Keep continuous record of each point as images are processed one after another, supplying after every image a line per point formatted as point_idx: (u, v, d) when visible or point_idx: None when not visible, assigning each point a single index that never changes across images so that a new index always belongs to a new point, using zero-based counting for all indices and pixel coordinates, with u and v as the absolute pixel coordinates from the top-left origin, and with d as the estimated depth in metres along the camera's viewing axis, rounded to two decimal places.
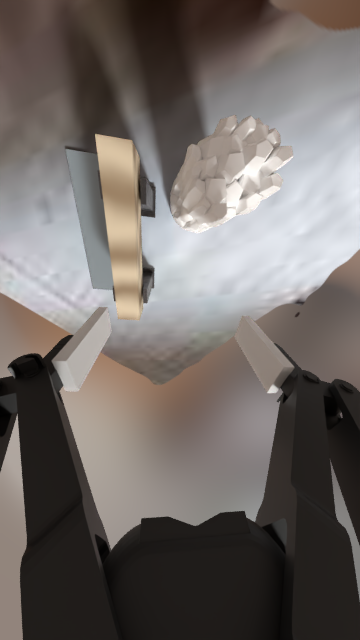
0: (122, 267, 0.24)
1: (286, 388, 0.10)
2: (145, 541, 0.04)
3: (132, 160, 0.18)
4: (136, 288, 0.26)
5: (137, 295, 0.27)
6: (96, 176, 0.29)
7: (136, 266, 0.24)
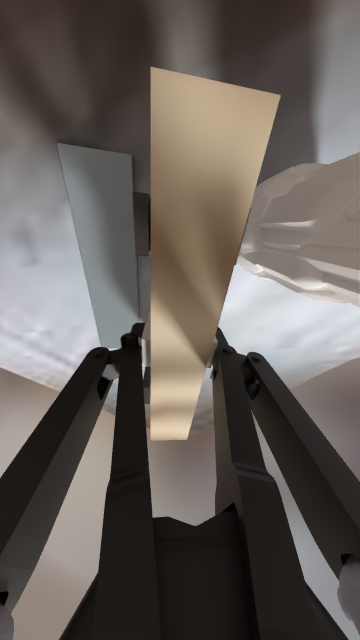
0: (171, 383, 0.12)
1: (214, 365, 0.11)
2: None
3: (258, 167, 0.06)
4: (192, 407, 0.14)
5: (191, 414, 0.14)
6: (112, 191, 0.17)
7: (200, 380, 0.12)
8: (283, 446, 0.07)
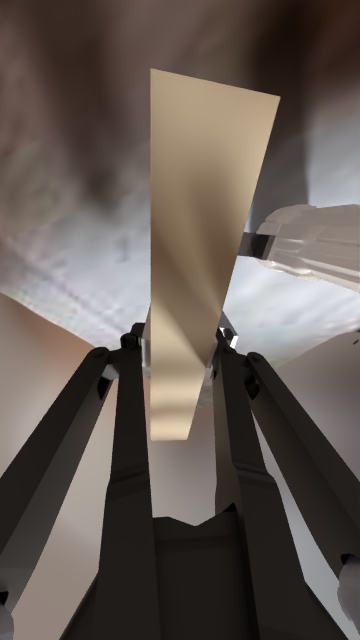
0: (171, 384, 0.12)
1: (214, 365, 0.11)
2: None
3: (257, 168, 0.06)
4: (192, 407, 0.14)
5: (191, 415, 0.14)
6: None
7: (200, 380, 0.12)
8: (283, 446, 0.07)
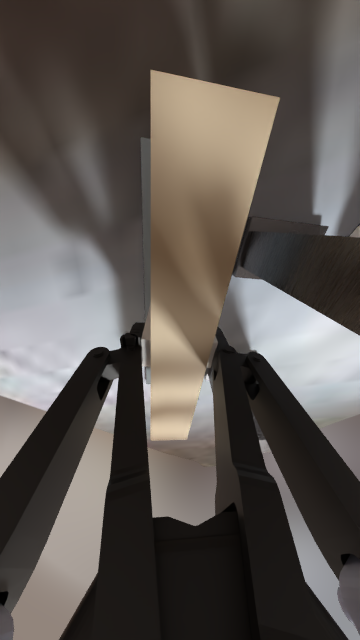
0: (171, 384, 0.12)
1: (214, 365, 0.11)
2: None
3: (257, 168, 0.06)
4: (192, 407, 0.14)
5: (191, 415, 0.14)
6: None
7: (200, 380, 0.12)
8: (283, 446, 0.07)
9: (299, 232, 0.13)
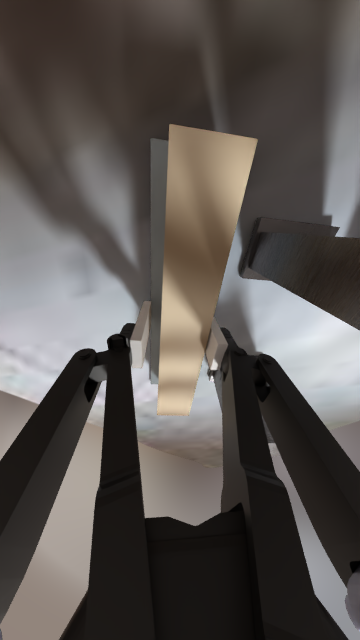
0: (176, 360, 0.14)
1: (224, 367, 0.11)
2: None
3: (244, 186, 0.08)
4: (194, 383, 0.16)
5: (193, 390, 0.17)
6: None
7: (201, 358, 0.14)
8: (292, 449, 0.07)
9: (309, 233, 0.13)
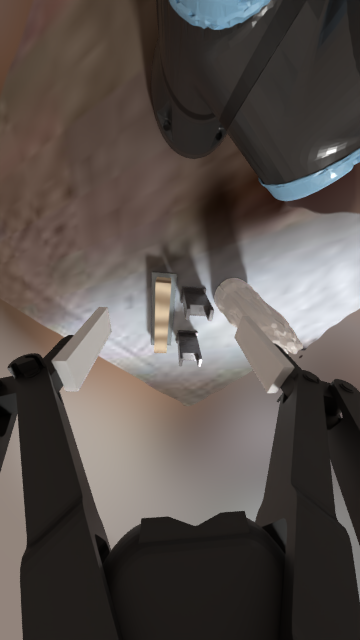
0: (160, 328, 0.46)
1: (286, 388, 0.10)
2: (145, 541, 0.04)
3: (170, 289, 0.40)
4: (166, 337, 0.48)
5: (166, 341, 0.49)
6: None
7: (167, 328, 0.46)
8: None
9: (197, 290, 0.45)
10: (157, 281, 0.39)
